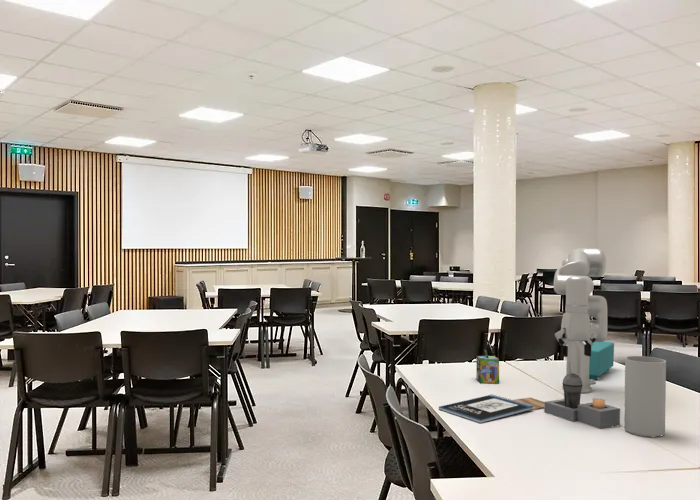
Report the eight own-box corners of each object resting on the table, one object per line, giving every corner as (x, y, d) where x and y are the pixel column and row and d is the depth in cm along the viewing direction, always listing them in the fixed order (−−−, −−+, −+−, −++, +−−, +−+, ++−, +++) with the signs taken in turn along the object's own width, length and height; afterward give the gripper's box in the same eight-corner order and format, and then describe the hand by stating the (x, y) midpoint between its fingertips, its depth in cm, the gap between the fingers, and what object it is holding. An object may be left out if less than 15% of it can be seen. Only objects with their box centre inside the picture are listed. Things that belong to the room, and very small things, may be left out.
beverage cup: (584, 418, 217) (584, 364, 217) (563, 416, 219) (564, 363, 219) (580, 412, 224) (581, 360, 224) (560, 411, 226) (561, 359, 226)
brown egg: (597, 408, 214) (597, 397, 214) (607, 411, 210) (607, 400, 210) (590, 410, 212) (590, 398, 212) (599, 412, 208) (599, 401, 208)
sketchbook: (438, 410, 226) (438, 404, 226) (491, 398, 243) (491, 393, 243) (480, 423, 209) (480, 417, 209) (534, 409, 226) (534, 404, 226)
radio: (593, 368, 312) (593, 340, 312) (614, 371, 306) (614, 342, 306) (575, 379, 285) (576, 348, 285) (598, 382, 279) (598, 350, 279)
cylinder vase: (663, 440, 192) (664, 364, 192) (622, 433, 199) (622, 360, 199) (666, 430, 203) (667, 358, 203) (626, 424, 210) (627, 354, 210)
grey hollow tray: (569, 408, 231) (569, 393, 231) (621, 425, 209) (621, 408, 209) (544, 412, 225) (544, 396, 225) (596, 429, 203) (596, 412, 203)
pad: (530, 398, 245) (530, 397, 245) (555, 406, 233) (555, 405, 233) (504, 402, 239) (504, 400, 239) (529, 410, 226) (529, 409, 226)
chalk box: (499, 383, 272) (499, 352, 272) (479, 383, 272) (480, 351, 272) (495, 379, 281) (495, 348, 281) (475, 379, 282) (476, 348, 282)
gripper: (590, 308, 223) (590, 354, 223) (550, 309, 219) (549, 354, 219) (603, 310, 216) (602, 357, 215) (561, 310, 212) (561, 358, 211)
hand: (576, 356), depth 217 cm, fingers open, 9 cm apart
